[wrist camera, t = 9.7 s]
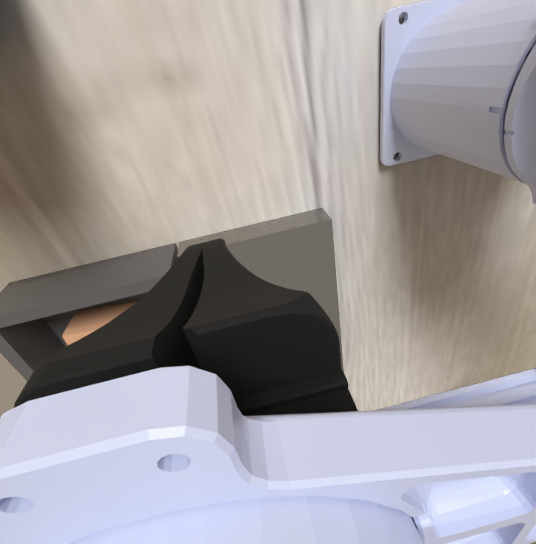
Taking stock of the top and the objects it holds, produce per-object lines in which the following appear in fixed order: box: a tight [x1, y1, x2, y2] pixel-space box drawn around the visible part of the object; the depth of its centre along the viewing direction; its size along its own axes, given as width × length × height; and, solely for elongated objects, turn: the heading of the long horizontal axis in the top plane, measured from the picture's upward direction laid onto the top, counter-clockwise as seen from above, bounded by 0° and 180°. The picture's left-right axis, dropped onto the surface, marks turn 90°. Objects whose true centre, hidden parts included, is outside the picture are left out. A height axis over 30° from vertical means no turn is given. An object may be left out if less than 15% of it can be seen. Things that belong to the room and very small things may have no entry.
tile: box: [62, 301, 137, 345], centre depth 23 cm, size 6×6×2 cm
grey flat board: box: [177, 208, 344, 372], centre depth 25 cm, size 10×16×2 cm, turn 11°
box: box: [0, 243, 178, 381], centre depth 24 cm, size 11×16×4 cm
